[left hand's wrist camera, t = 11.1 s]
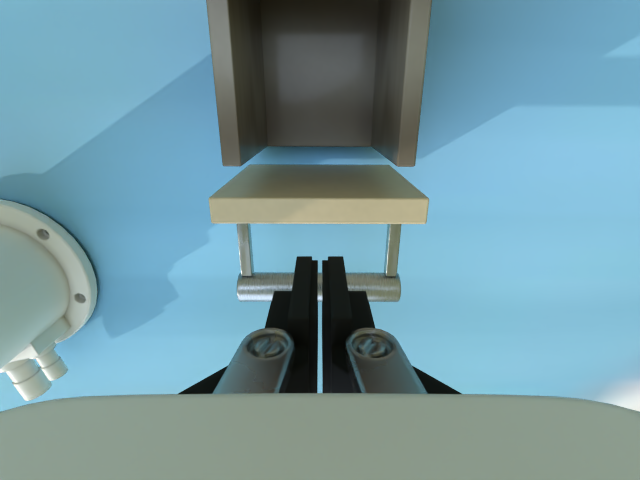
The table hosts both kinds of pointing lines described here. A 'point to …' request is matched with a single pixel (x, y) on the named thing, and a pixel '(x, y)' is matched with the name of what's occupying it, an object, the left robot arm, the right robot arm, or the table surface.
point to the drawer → (319, 121)
